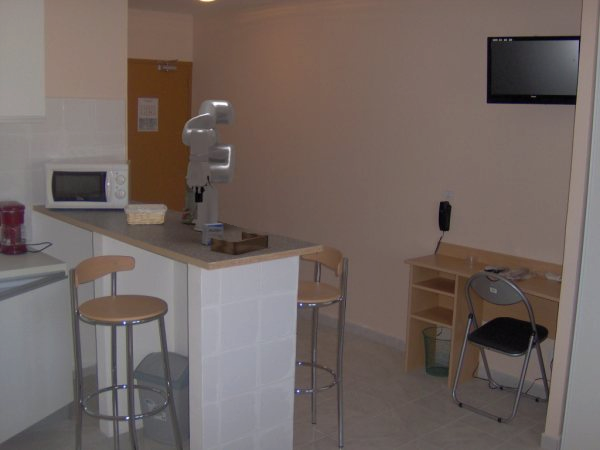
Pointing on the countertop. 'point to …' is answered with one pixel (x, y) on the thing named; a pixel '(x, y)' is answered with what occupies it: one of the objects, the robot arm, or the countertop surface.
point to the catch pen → (240, 243)
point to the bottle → (189, 206)
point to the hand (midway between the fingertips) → (198, 202)
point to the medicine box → (211, 232)
